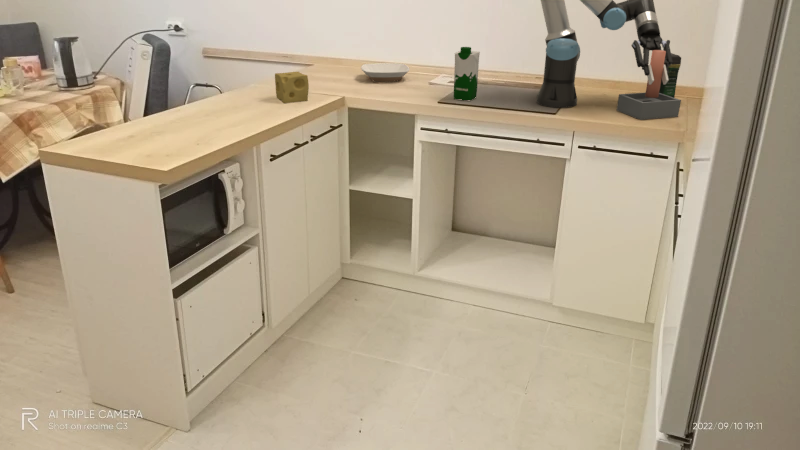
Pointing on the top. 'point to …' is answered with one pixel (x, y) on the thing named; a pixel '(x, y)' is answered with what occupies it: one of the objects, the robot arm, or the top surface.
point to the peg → (656, 73)
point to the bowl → (385, 71)
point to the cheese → (291, 87)
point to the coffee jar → (671, 77)
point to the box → (648, 106)
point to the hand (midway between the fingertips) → (658, 82)
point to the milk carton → (466, 74)
